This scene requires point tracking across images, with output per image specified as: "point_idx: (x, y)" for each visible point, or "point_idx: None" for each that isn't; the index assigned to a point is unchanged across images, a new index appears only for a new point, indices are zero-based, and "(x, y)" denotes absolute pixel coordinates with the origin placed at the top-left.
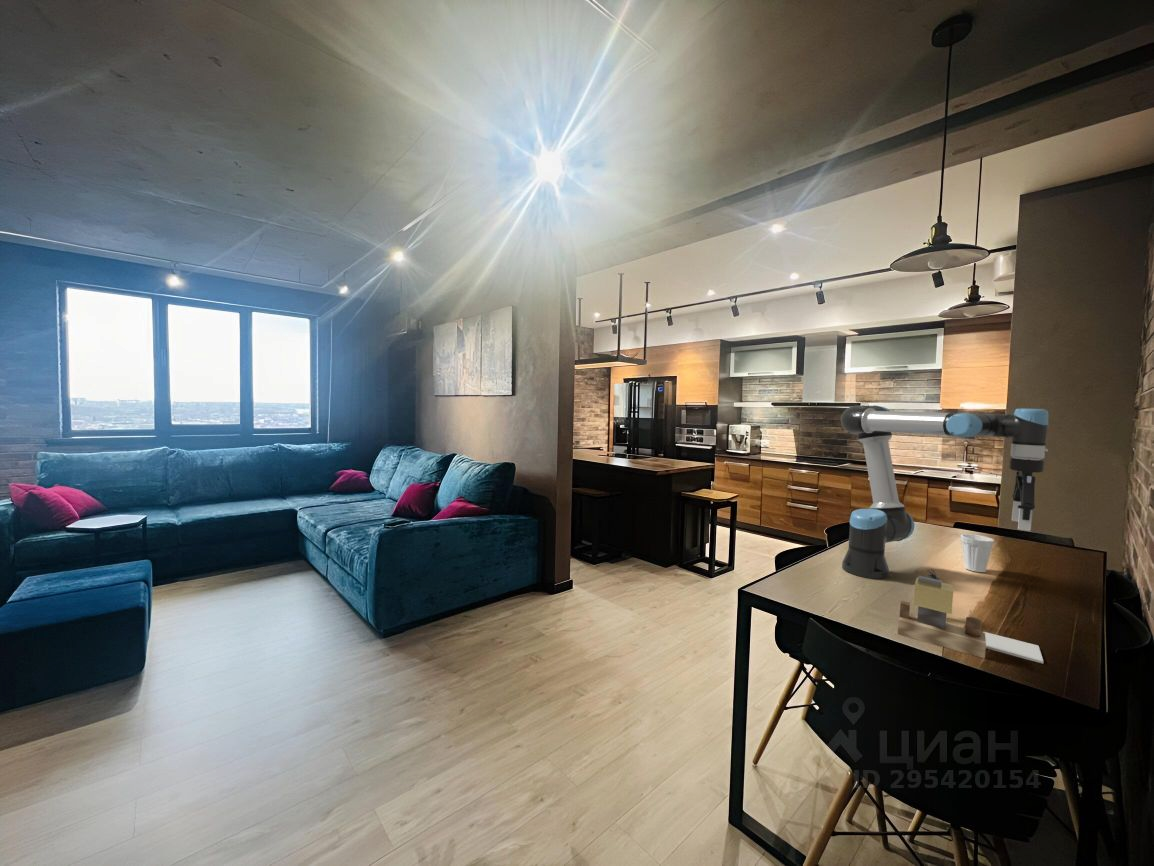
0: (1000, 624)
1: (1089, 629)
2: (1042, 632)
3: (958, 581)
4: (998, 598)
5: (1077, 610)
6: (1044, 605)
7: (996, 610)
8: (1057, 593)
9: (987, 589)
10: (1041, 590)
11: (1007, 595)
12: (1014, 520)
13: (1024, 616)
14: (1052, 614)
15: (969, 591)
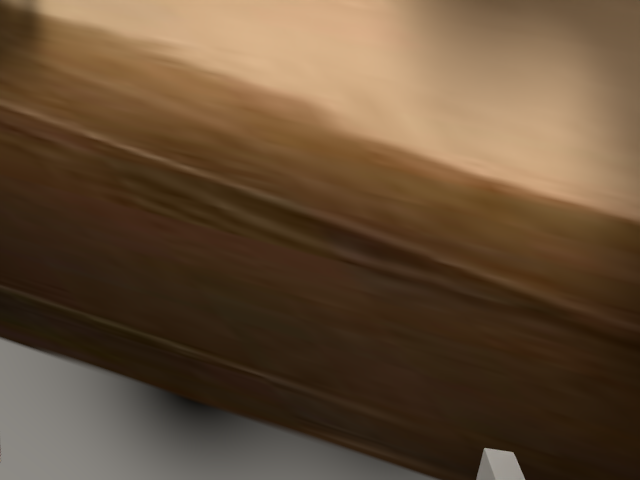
0: (75, 127)
1: (231, 397)
2: (92, 247)
3: (598, 78)
4: (414, 199)
5: (428, 431)
6: (423, 344)
7: (239, 152)
8: (623, 437)
9: (529, 185)
10: (636, 394)
11: (482, 245)
12: (478, 475)
13: (233, 236)
14: (324, 337)
15: (450, 98)
